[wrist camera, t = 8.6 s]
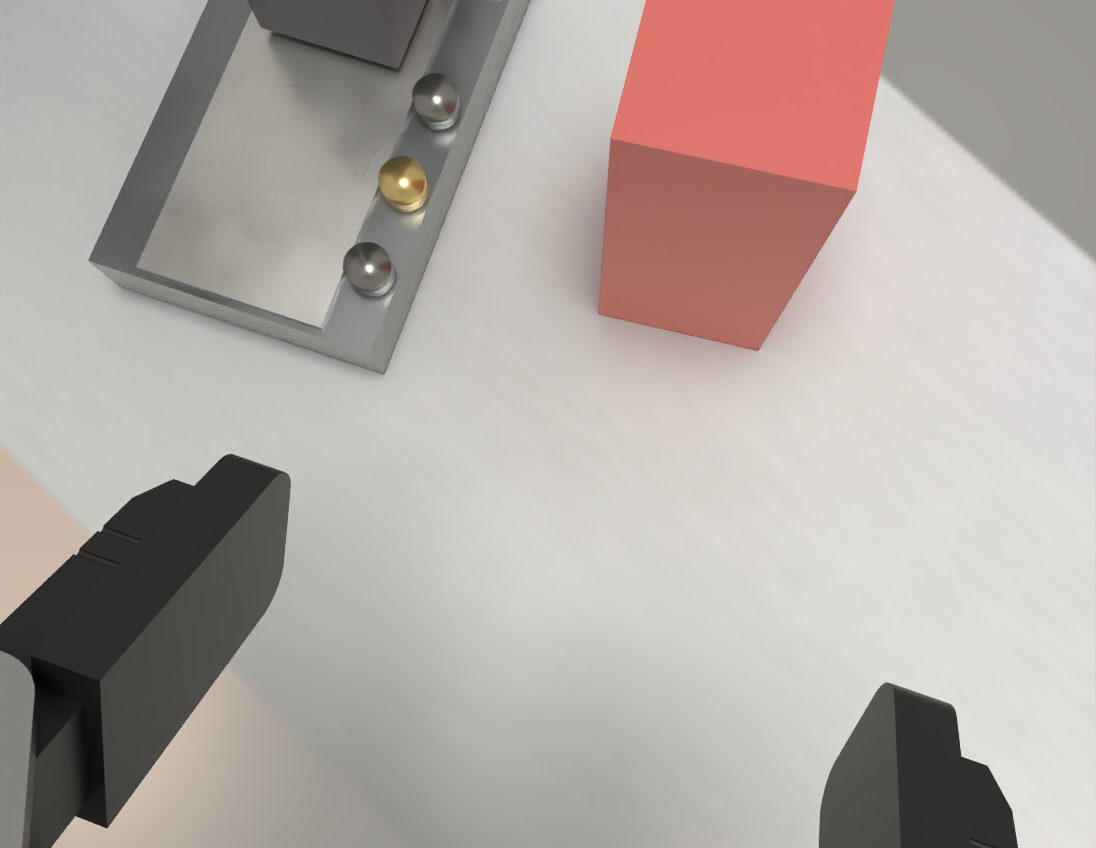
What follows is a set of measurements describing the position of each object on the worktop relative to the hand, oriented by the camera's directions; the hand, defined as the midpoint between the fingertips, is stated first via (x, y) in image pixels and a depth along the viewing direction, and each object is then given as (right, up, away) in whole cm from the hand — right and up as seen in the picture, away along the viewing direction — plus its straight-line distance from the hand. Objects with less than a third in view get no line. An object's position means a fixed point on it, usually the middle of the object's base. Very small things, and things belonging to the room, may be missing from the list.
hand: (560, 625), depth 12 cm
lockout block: (+4, +7, +16) cm, 18 cm away
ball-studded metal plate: (-6, +11, +17) cm, 22 cm away
